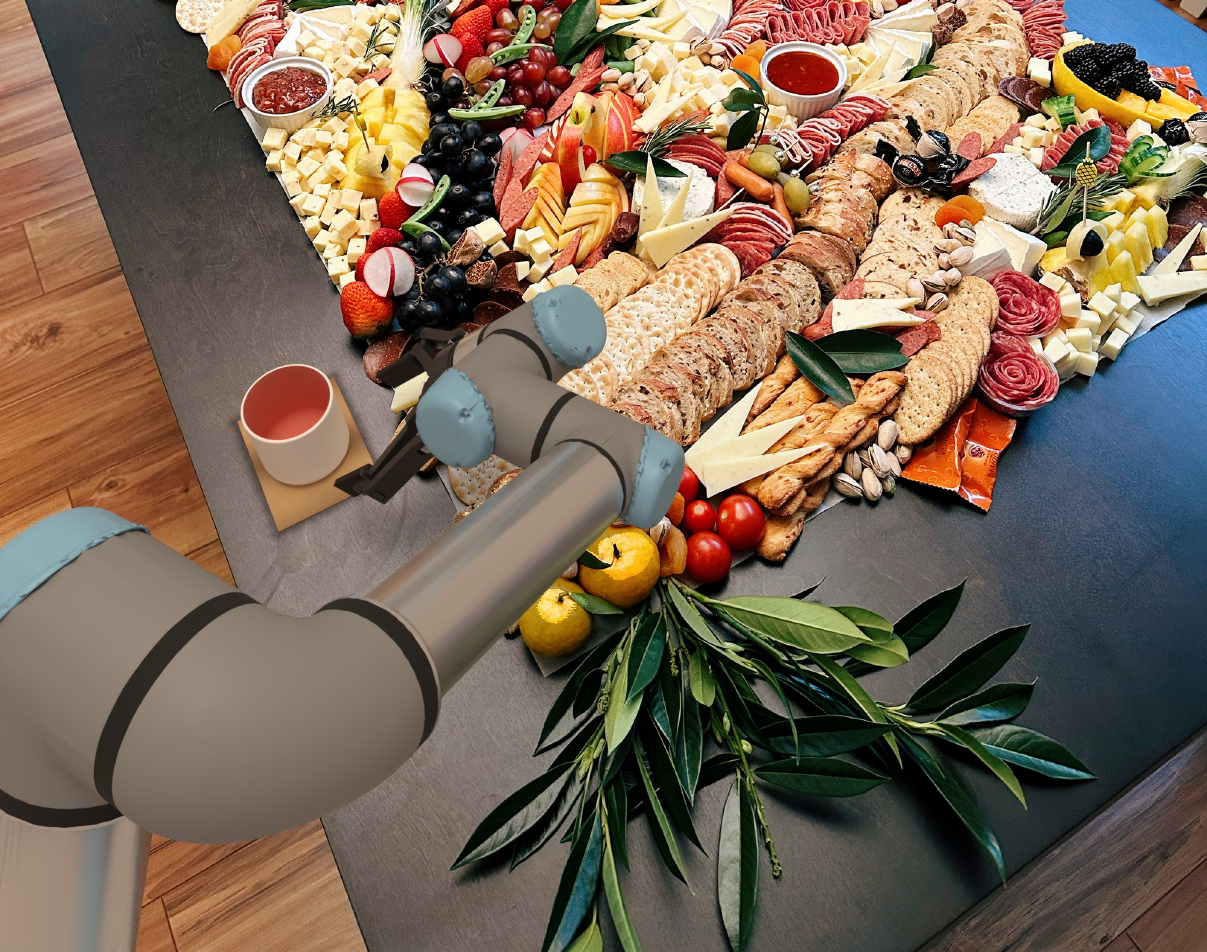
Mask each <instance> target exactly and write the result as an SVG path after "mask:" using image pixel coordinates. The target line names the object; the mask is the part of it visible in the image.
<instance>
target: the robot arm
mask: <svg viewBox="0 0 1207 952" xmlns="http://www.w3.org/2000/svg"><path fill="white" fill-rule="evenodd" d="M607 337H608V329H607V323H606V318H605V315H604V313H603V311H602V308H601V307H600V306H598V304H597V302H596V301H595V299H594V297H593V296H592V295H591V294H590V293H588V292H587V291H585V289H583V288H581V287H580V286H577V285H573V284H560V285H557V286H554V287H552V288H551V289H548V290H545V291H544V292H542V291H540V292H539V293H537V294H536V295H535V296H534V297H533V298H531V299H529V300H528V301H526V302H525V303H522V304H521V305H519V306H517V307H516V308H514V309H513V310H511V311H510V312H508V313H506V314H504V315H503V316H500V317H499V318H497V319H495V320H493V321H492V322H488V323H486V324H484V325H483V326H481V327H479V328H477V329H475V330H473V331H472V332H470V333H469V332H467V331H466V330H464V329H462V328H461V327H457V328H455V329H453V330H450V331H449V330H443V329H437V328H432V327H431V328H429V327H424V328H423V329H421V331H420V333H419V338H421V340H420V342H416V343H414V345H413V346H412V348H411V350H410V351H408V352H406V353H404V354H402V356H400V358H398V359H396V360H395V361H393V362H391V363H389V364H388V365H385V366H384V367H383V368H381V369H379V370H378V371H376V373H375V376H374V377H375V378H376V379H377V380H379V381H380V382H382V383H384V384H386V385H387V386H389V387H390V388H392V389H397V388H398V387H400V386H402V385H404V384H405V383H407V382H410V381H411V380H413V379H415V378H417V377H418V376H420V375H422V374H424V373H426V376H428V377H427V379H426V381H425V382H424V383H423V386H422V388H421V392H420V394H419V396H418V400H417V401H416V403H415V405H414V406H413V407H412V408H411V409H410V411H409V412H408V413H407V414H406V416H405V418H404V421H405V424H404V425H403V427H402V428H401V429H400V431H399V432H398V433H397V435H395V437H394V438H393V439H392V440H391V442H390V443H389V444H388V446H387V447H386V448H385V449H384V451H383V452H382V453H381V454H380V455H379V457H378V458H377V459H376V461H375V462H373V463H374V465H371V464H369V463H368V464H366V465H364V466H362V467H360V468H358V469H356V470H354V471H352V472H350V473H348V474H346V475H344V476H342V477H340V478H338V479H336V480H335V483H334V485H333V486H334V487H336V488H338V489H340V490H342V491H343V492H345V493H347V494H349V495H351V498H356V497H358V496H360V495H362V496H367V497H368V498H370V499H373V500H375V501H376V502H378V503H380V504H382V505H383V506H384V505H386V504H387V503H388V502H390V500H391V499H392V498H393V497H394V496H395V495H396V494H398V492H400V491H401V489H402V488H403V487H404V486H405V485H406V484H407V483H408V482H409V481H410V480H411V479H413V477H415V475H416V474H417V473H418V472H419V471H421V470H422V468H424V466H425V465H426V464H427V463H428V462H429V461H430V460H432V459H433V458H436V459H437V460H439V461H440V462H441V463H443V464H445V465H446V466H449V467H450V468H454V469H461V468H464V469H466V470H467V469H469V470H470V469H473V468H476V467H478V466H479V465H480V464H482V463H483V462H485V461H487V460H488V459H490V458H491V457H492V455H493V456H495V457H497V458H499V459H501V460H503V461H505V462H507V463H509V464H511V465H512V466H514V467H517V468H519V469H521V470H522V471H521V472H519V473H518V474H517V475H515V476H514V477H513V478H512V479H510V480H509V481H508V482H507V483H506V484H504V485H503V486H502V487H500V488H499V489H497V491H495V492H494V493H493V494H491V495H490V496H489V497H488V498H487V499H485V500H484V501H483V502H482V503H480V504H479V505H478V506H476V507H475V508H474V509H473V510H471V511H470V512H469V513H467V515H465V516H464V517H463V518H461V519H460V520H458V521H457V522H456V523H455V524H454V525H452V526H451V527H450V528H449V529H448V530H446V531H445V532H444V533H442V534H441V535H440V536H438V537H437V538H435V540H433V541H432V542H431V543H429V544H428V545H427V546H426V547H425V548H423V549H422V550H421V551H419V552H418V553H416V555H414V556H413V557H412V558H411V559H410V560H408V561H406V563H404V564H403V565H402V566H401V567H399V568H398V569H396V571H395V572H393V573H391V575H389V576H388V577H387V578H385V579H384V580H382V581H381V582H380V583H379V584H378V585H376V586H375V587H374V588H373V589H372V590H370V591H369V592H368V593H366V594H365V595H364V596H361V595H344V596H340V597H337V598H334V599H332V600H330V601H329V602H327V603H325V604H324V605H323V606H321V607H320V608H319V609H318V610H316V611H315V612H314V613H312V614H311V615H310V616H302V617H301V616H300V617H298V616H293V615H287V614H282V613H280V612H277V611H276V610H274V609H272V608H270V607H268V606H266V605H264V604H263V603H262V602H260V601H258V600H257V599H255V598H253V597H251V595H249V594H247V593H245V592H243V590H241V589H239V588H237V587H236V586H234V585H232V584H231V583H229V582H227V581H226V580H224V579H223V578H221V577H219V576H218V575H217V574H214V573H213V572H211V571H209V570H208V569H207V568H204V567H203V566H201V565H200V564H198V563H197V562H195V561H193V560H191V559H190V558H189V557H187V556H185V555H183V554H181V553H180V552H179V551H177V550H176V549H174V548H172V547H170V546H169V545H167V544H165V543H164V542H162V541H161V540H159V539H157V538H155V537H154V536H152V532H151V530H150V528H149V527H147V526H145V525H144V524H142V523H138V522H131V521H129V520H128V519H126V518H124V517H122V516H121V515H119V514H116V513H114V512H113V511H110V510H108V509H105V508H102V507H96V506H77V507H71V508H68V509H65V510H62V511H59V512H56V513H53V514H50V515H49V516H46V517H44V518H42V519H40V520H39V521H37V522H35V523H33V524H31V525H30V526H28V527H26V528H25V529H23V530H22V531H21V532H19V533H18V534H16V535H15V536H14V537H12V538H11V539H10V540H9V541H7V542H6V543H5V544H4V545H3V546H1V547H0V952H137V951H136V950H137V945H138V936H139V929H140V922H141V917H142V909H143V901H144V897H145V896H144V895H145V888H146V880H147V875H148V869H149V868H148V867H149V862H150V854H151V846H152V840H153V835H156V836H159V837H161V838H164V839H167V840H171V841H177V842H182V843H189V844H197V845H222V844H232V843H233V844H235V843H241V842H248V841H253V840H258V839H264V838H267V837H270V836H274V835H277V834H280V833H284V832H287V831H291V830H293V829H296V828H300V827H302V826H305V825H308V824H309V823H312V822H314V821H316V820H318V819H320V818H322V817H325V816H327V815H329V814H332V813H333V812H336V811H338V810H340V809H342V808H344V807H346V806H348V805H349V804H351V803H352V802H354V801H357V800H358V799H359V798H361V797H362V796H365V795H366V794H368V793H370V792H371V791H373V790H374V789H376V788H377V787H378V786H380V785H381V784H382V783H383V782H385V781H386V780H387V779H388V778H389V777H391V776H392V775H394V774H395V773H396V772H397V771H398V770H399V769H400V768H401V767H402V766H403V765H404V764H405V763H406V762H407V761H408V760H409V759H410V758H411V757H412V756H413V755H414V753H415V752H417V751H418V749H419V748H421V746H422V745H423V744H425V742H426V741H428V739H429V738H430V737H431V735H432V734H433V733H434V732H435V729H436V727H437V725H438V722H439V719H440V715H441V711H442V710H441V709H442V699H443V698H444V697H445V695H447V694H448V693H449V692H450V690H451V689H452V688H453V687H455V686H456V685H457V683H459V681H460V680H462V679H463V677H464V676H465V675H466V674H467V673H468V672H469V671H470V670H471V669H472V668H473V667H474V666H475V665H476V664H477V663H478V662H479V661H480V660H481V659H482V658H483V657H484V656H485V655H486V654H487V653H488V651H490V650H491V649H492V648H493V646H494V645H496V644H497V642H498V641H499V640H500V639H501V638H502V637H503V636H504V635H505V634H506V633H507V632H508V631H509V630H510V629H511V628H512V627H513V626H514V625H515V624H516V623H517V622H518V621H519V620H520V619H521V618H522V617H523V616H524V615H525V614H526V613H527V612H528V611H529V609H531V608H532V607H533V606H534V605H535V604H536V603H537V601H538V600H539V599H540V598H541V597H542V596H544V594H545V593H546V592H547V591H548V590H549V589H550V588H551V587H552V586H553V585H554V584H555V583H556V582H557V581H558V580H559V579H560V578H561V577H562V576H563V575H564V574H565V573H566V572H567V571H568V569H570V568H571V567H572V565H573V564H575V562H576V561H577V560H578V559H579V558H580V557H581V556H582V555H583V554H584V553H585V552H586V551H587V550H588V549H589V548H590V547H591V546H592V545H593V544H594V543H595V542H596V541H597V540H598V539H599V538H600V537H601V536H602V535H603V534H604V532H606V531H607V529H608V528H610V526H612V525H613V524H614V523H615V522H616V521H617V520H620V521H621V522H622V523H623V524H624V525H625V526H627V525H631V526H634V527H636V528H638V529H640V530H651V529H653V528H655V527H657V526H658V525H659V524H660V523H661V522H662V521H663V519H664V518H665V516H666V514H667V513H668V512H669V510H670V508H671V506H672V504H673V502H674V500H675V498H676V496H677V493H678V491H679V488H680V486H681V482H682V479H683V475H684V472H685V467H686V454H685V450H684V449H683V447H682V445H681V444H680V443H678V441H676V440H675V439H672V438H670V437H669V436H666V435H665V434H663V433H662V432H660V431H658V430H656V429H654V428H653V427H651V425H650V424H648V423H641V422H639V421H637V420H635V419H632V418H631V417H628V416H626V415H624V414H621V413H620V412H617V411H615V410H613V409H611V408H609V407H606V406H604V405H602V404H601V403H597V402H596V401H593V400H591V399H589V398H586V397H585V396H582V395H580V394H578V393H576V392H574V391H572V390H570V389H567V388H566V387H564V386H561V385H559V384H558V383H559V382H561V380H562V379H563V378H564V377H565V376H567V375H568V374H570V373H571V372H572V371H574V370H581V369H583V368H584V367H585V366H586V365H587V364H588V363H590V362H591V361H593V360H594V359H596V358H597V357H598V356H599V355H600V354H601V353H602V352H603V350H604V348H605V346H606V344H607V343H606V342H607ZM436 349H440V351H439V352H437V354H436V353H435V352H434V351H435V350H436Z"/></svg>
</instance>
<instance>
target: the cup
mask: <svg viewBox="0 0 1207 952" xmlns="http://www.w3.org/2000/svg"><path fill="white" fill-rule="evenodd" d="M329 379H330V378H328V375H326V374H325V373H324V372H323V371H322V370H320V369H319V368H317V367H315V366H311V365H309V364H305V363H304V364H302V363H292V364H285V365H281V366H278V367H275V368H273V369H271V370H269V371H267V372H265V373H264V374H262V375H261V376H260V377H258V378H257V379H256V380H255V381H254V382H253V383H252V384H251V385H250V387H249V388H248V389H247V391H246V392H245V394H244V397H243V399H242V401H241V405H240V420H242V424H243V426H244V428H245V430H246V432H247V434H248V436H249V438H250V440H251V442H252V444H253V446H254V448H255V450H256V452H257V454H258V456H259V458H260V460H261V462H262V464H263V466H264V467H265V469H266V470H267V472H268V473H269V474H270V475H271V476H272V477H273V478H275V479H276V480H278V481H280V482H283V483H286V484H291V485H304V484H309V483H313V482H316V481H318V480H320V479H322V478H324V477H326V476H327V475H329V474H330V473H331V472H332V471H334V470H335V469H336V468H337V466H338V465H339V464H340V463H341V461H342V460H343V458H344V456H345V454H346V452H347V449H348V445H349V430H348V426H347V424H346V421H345V418H344V416H343V413H342V411H341V408H340V405H339V403H338V400H337V398H336V395H335V392H334V390H333V387H332V385H331V382H330V380H329Z"/></svg>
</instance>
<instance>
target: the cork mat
mask: <svg viewBox="0 0 1207 952" xmlns="http://www.w3.org/2000/svg"><path fill="white" fill-rule="evenodd" d="M328 379H329V380H330V382H331V385H332V387H333V390H334V392H335V395H336V398H337V400H338V403H339V405H340V408H341V411H342V413H343V416H344V418H345V421H346V424H347V426H348V430H349V445H348V449H347V452H346V454H345V456H344V458H343V460H342V461H341V463H340V464H339V465H338V466H337V468H336V469H335V470H334V471H332V472H331V473H330V474H329V475H327V476H326V477H324V478H322V479H320V480H318V481H316V482H313V483H309V484H304V485H291V484H286V483H283V482H280V481H278V480H276V479H275V478H273V477H272V476H271V475H270V474H269V473H268V472H267V470H266V469H265V467H264V466H263V464H262V462H261V460H260V458H259V456H258V454H257V452H256V450H255V448H254V446H253V444H252V442H251V440H250V438H249V436H248V434H247V432H246V430H245V428H244V426H243V424H242V420H241V419H239V420H237V421H236V423H237V425H238V428H239V430H240V433H241V436H242V439H243V441H244V443H245V446H246V449H247V452H248V454H249V457H250V459H251V462H252V465H253V467H254V471H255V474H256V475H257V478H258V480H259V484H260V486H261V489H262V492H263V494H264V497H265V499H266V502H267V505H268V507H269V510H270V513H271V515H272V518H273V521H274V524H275V527H276V529H277V531H278V533H281V532H283V531H286V530H287V529H289V528H291V527H293V526H295V525H297V524H299V523H302V522H303V521H305V520H307V519H309V518H311V517H314V516H315V515H317V514H319V513H321V512H323V511H325V510H327V509H330V508H331V507H333V506H335V505H337V504H339V503H341V502H344V501H345V500H348V499H350V498H352V496H351V495H349V494H347V493H345V492H343V491H342V490H340V489H338V488H336V487H334V486H333V485H334V483H335V480H336V479H338V478H340V477H342V476H344V475H346V474H348V473H350V472H352V471H354V470H356V469H358V468H360V467H362V466H364V465H366V464H368V463H369V464H371V465H374V463H375V462H374V461H373V458H372V456H371V454H370V453H369V449H368V448H367V446H366V443H365V442H364V439H363V437H362V435H361V433H360V430H359V428H358V426H357V424H356V421H355V420H354V418H353V415H352V414H351V411H350V408H349V407H348V404H347V403H346V400H345V398H344V396H343V394H342V391H341V390H340V387H339V385H338V383H337V381H336V379H335V376H332V377H330V378H328Z"/></svg>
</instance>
